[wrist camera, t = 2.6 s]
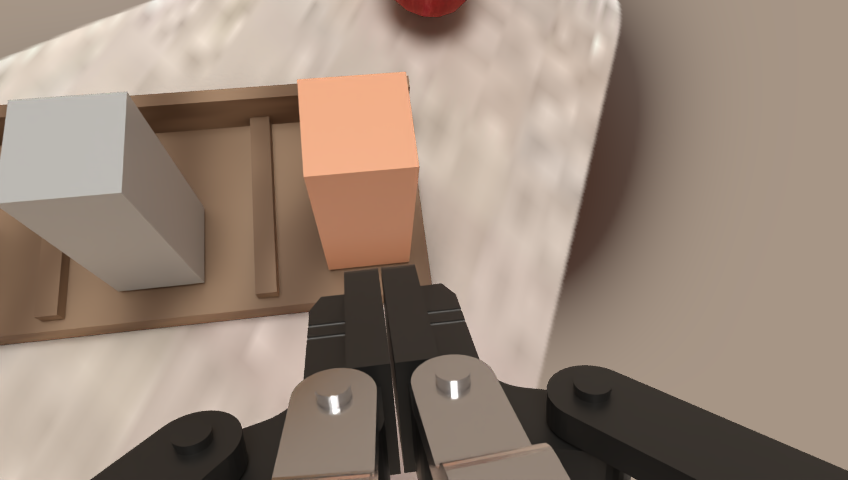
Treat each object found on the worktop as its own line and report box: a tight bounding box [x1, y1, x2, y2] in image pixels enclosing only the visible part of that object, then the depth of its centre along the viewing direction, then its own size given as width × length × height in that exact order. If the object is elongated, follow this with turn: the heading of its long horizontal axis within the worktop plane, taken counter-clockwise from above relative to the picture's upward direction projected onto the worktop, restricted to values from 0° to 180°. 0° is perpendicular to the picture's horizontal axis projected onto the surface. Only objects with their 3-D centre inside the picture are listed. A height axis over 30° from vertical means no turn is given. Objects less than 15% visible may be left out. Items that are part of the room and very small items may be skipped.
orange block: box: [297, 72, 419, 270], centre depth 27 cm, size 4×4×10 cm
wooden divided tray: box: [0, 76, 432, 345], centre depth 31 cm, size 26×11×4 cm, turn 97°
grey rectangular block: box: [0, 92, 204, 292], centre depth 26 cm, size 4×4×10 cm
